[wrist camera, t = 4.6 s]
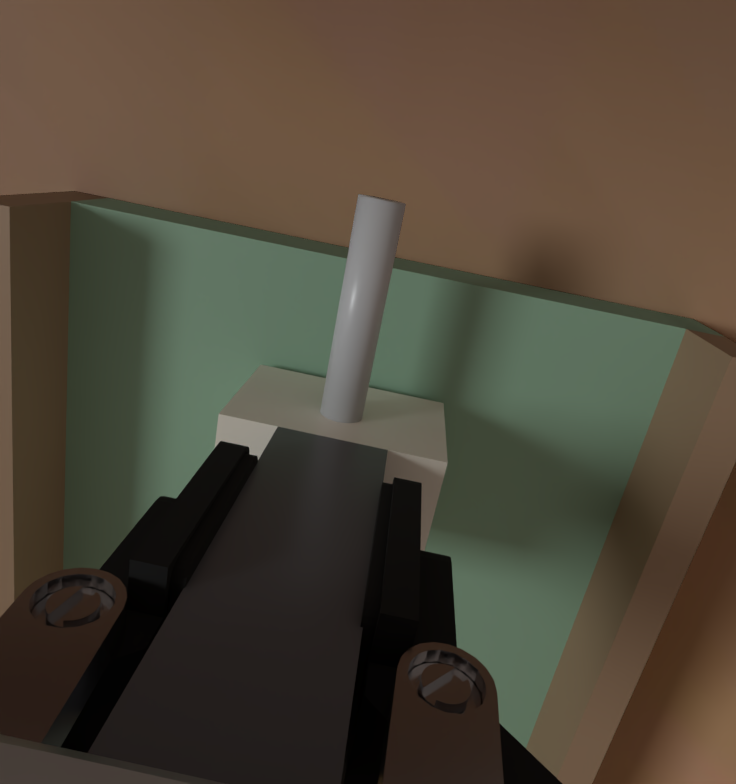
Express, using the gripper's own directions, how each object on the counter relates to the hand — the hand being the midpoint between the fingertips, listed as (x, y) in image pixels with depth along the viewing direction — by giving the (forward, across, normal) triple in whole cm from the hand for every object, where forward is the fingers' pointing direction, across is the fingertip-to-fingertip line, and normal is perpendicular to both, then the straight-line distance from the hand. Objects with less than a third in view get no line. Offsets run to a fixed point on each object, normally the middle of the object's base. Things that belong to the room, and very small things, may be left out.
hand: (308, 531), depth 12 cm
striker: (+5, 0, -2) cm, 6 cm away
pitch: (+8, 0, +9) cm, 12 cm away
